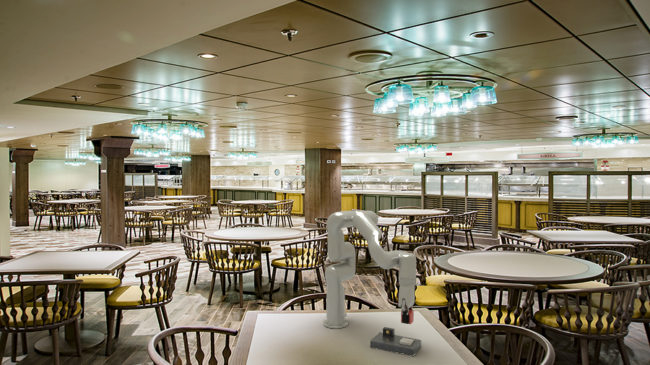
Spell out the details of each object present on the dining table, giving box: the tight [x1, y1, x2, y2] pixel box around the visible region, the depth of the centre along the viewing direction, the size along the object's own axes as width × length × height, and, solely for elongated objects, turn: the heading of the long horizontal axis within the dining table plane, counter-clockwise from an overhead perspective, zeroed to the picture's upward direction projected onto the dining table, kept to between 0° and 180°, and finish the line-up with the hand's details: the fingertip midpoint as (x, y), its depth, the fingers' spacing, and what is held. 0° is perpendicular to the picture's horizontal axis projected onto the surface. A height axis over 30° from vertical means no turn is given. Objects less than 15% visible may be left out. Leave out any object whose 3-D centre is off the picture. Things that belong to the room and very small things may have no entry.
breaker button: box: [400, 338, 414, 346], centre depth 191 cm, size 5×5×3 cm
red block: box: [400, 309, 415, 325], centre depth 191 cm, size 4×4×5 cm
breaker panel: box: [369, 327, 422, 356], centre depth 193 cm, size 12×20×6 cm, turn 62°
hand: (407, 321), depth 191 cm, fingers closed on red block, 4 cm apart
